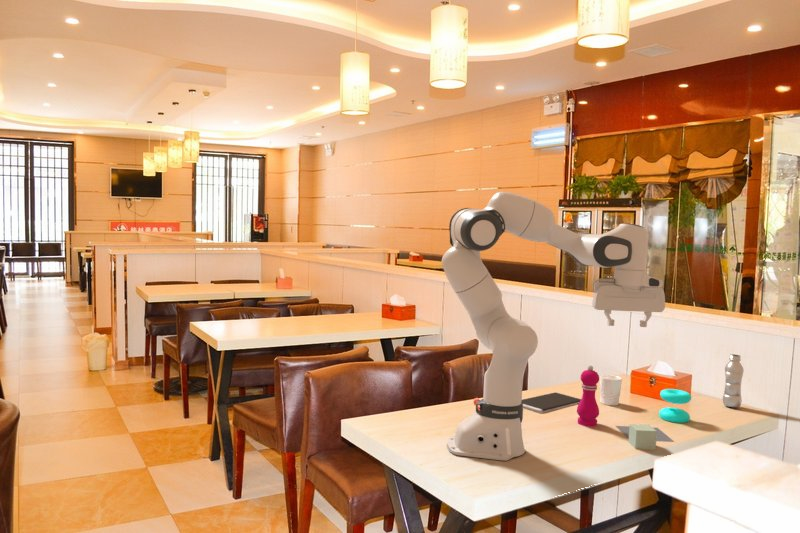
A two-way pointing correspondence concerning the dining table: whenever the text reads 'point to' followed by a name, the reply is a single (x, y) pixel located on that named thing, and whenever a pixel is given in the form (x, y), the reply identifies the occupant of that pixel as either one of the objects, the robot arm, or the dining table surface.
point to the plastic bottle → (733, 382)
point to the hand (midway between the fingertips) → (626, 326)
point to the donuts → (677, 398)
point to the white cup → (610, 389)
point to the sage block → (642, 436)
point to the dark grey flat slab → (549, 402)
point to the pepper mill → (588, 399)
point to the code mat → (660, 434)
